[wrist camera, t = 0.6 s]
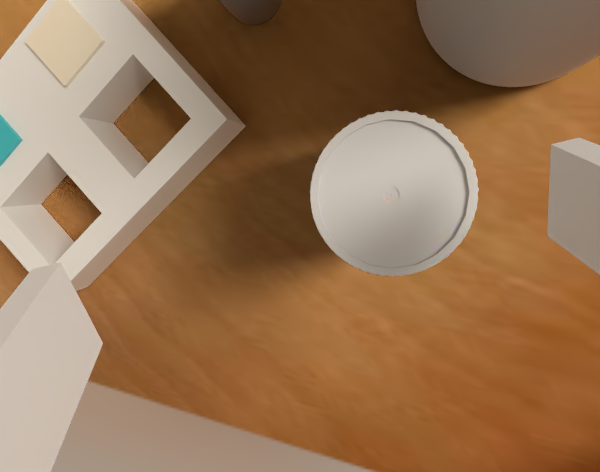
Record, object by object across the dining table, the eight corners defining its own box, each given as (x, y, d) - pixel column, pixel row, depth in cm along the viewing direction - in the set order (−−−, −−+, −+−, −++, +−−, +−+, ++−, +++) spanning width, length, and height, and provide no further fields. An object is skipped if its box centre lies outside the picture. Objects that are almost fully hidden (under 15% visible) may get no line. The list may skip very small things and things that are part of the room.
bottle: (340, 239, 33) (302, 288, 18) (336, 138, 32) (293, 105, 17) (443, 236, 32) (491, 288, 17) (441, 131, 31) (491, 89, 16)
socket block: (246, 126, 33) (225, 118, 29) (88, 286, 37) (49, 300, 33) (116, -18, 33) (78, -45, 29) (-26, 156, 37) (-79, 154, 33)
